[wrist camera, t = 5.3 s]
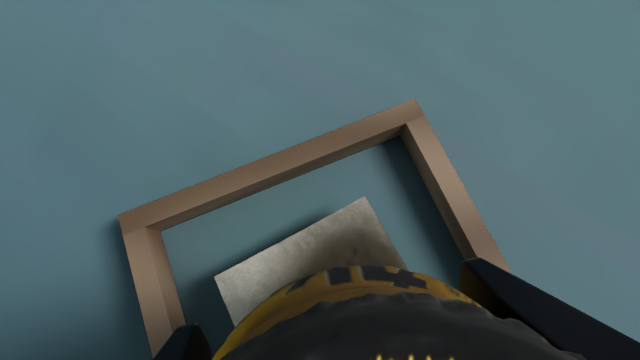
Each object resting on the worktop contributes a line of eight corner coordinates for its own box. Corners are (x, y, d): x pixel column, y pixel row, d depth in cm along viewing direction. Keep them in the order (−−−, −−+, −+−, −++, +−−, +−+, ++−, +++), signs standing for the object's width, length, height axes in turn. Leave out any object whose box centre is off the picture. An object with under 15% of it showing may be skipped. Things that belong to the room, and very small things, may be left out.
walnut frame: (584, 438, 14) (613, 457, 12) (238, 614, 13) (226, 657, 11) (408, 112, 18) (415, 98, 17) (135, 220, 17) (117, 215, 15)
